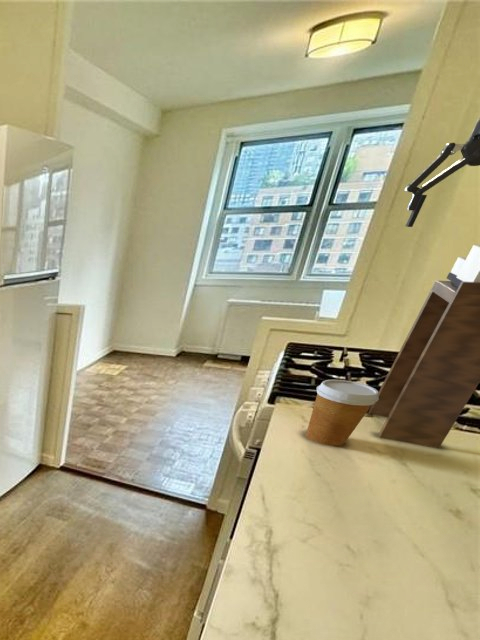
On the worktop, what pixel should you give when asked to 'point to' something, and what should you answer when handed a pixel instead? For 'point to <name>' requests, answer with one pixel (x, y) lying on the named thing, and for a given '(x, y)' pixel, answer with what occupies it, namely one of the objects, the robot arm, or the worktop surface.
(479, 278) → the white block dark base
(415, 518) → the worktop surface
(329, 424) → the disposable coffee cup
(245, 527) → the worktop surface
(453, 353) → the tall wooden cabinet
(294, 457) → the worktop surface
